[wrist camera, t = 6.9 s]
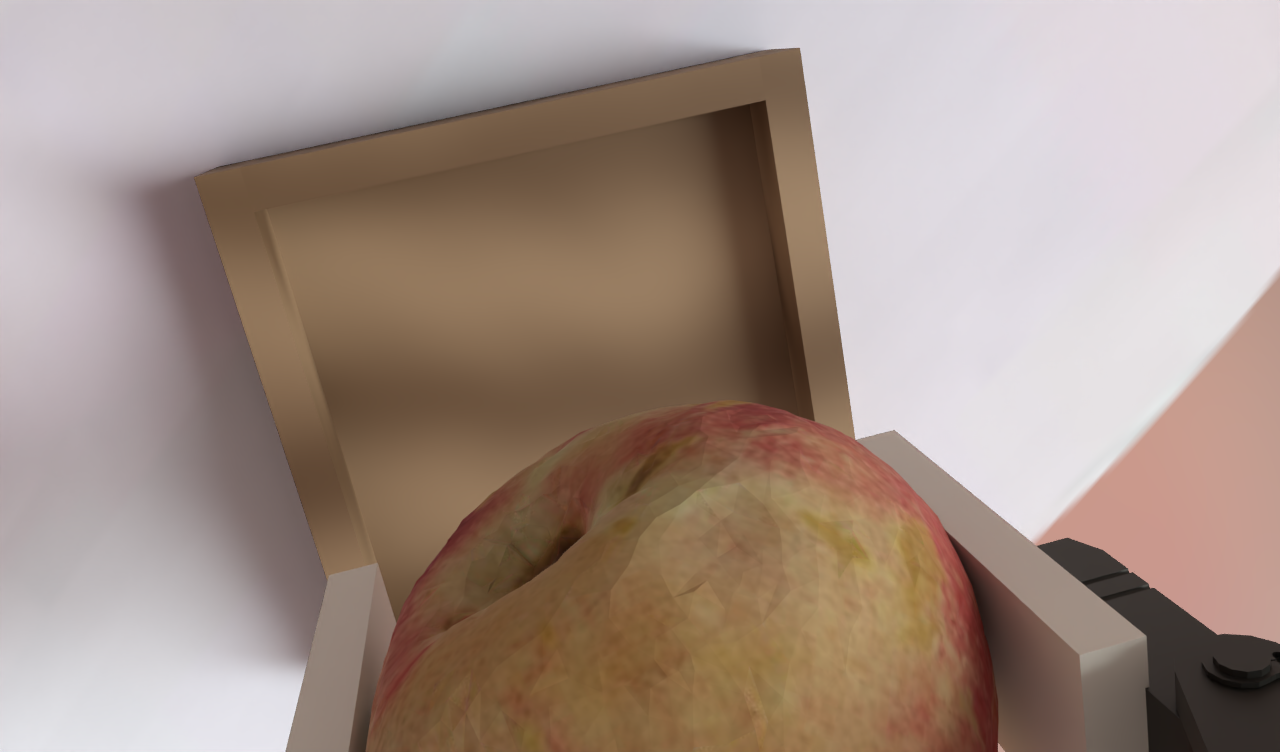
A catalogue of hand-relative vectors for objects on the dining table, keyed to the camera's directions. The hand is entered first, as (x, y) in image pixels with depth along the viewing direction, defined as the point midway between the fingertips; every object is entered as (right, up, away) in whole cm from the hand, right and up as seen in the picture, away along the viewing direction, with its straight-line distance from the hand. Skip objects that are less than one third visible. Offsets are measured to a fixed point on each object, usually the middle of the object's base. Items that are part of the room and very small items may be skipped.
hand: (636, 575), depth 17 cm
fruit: (0, 0, 0) cm, 0 cm away
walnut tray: (-2, +3, +11) cm, 12 cm away
